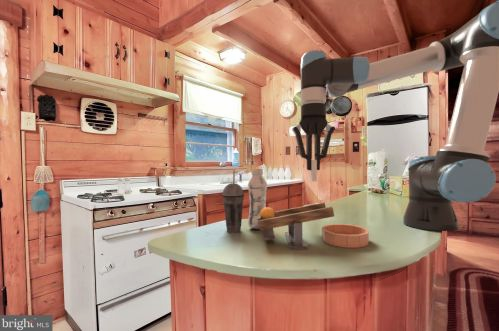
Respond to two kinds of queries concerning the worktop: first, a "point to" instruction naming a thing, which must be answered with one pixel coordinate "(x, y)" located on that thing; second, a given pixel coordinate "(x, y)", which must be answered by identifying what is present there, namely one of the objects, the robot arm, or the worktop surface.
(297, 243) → the stand
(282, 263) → the worktop surface
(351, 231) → the bowl
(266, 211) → the ball
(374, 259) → the worktop surface
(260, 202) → the plastic bottle
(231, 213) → the beverage cup
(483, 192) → the robot arm
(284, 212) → the trough
